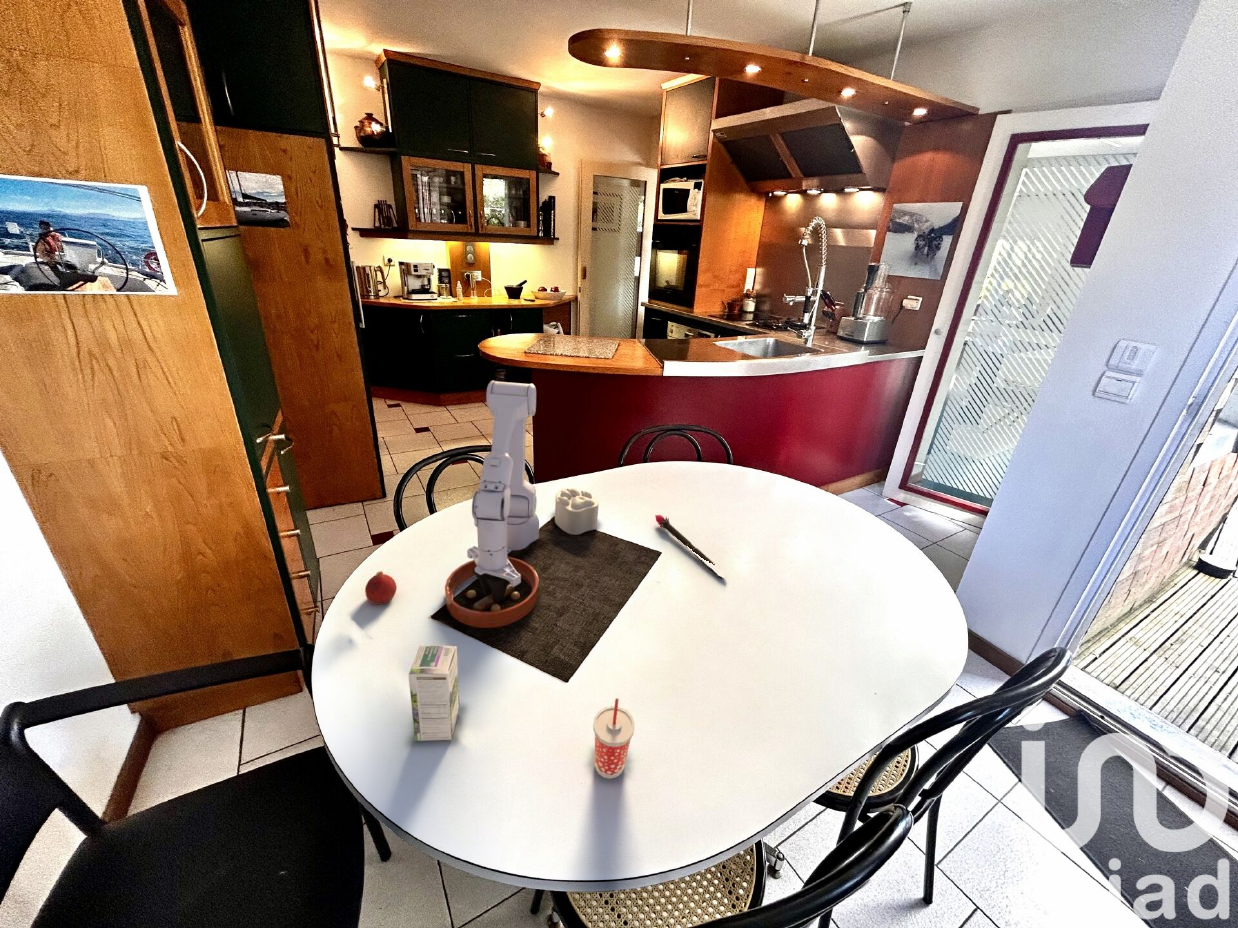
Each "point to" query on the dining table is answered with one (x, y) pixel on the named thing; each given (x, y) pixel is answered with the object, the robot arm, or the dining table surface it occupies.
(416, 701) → the syrup box
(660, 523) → the wand
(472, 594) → the bead
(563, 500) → the lumpy-topped squat cylinder
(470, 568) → the bowl
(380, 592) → the red round piece
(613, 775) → the beverage cup
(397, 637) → the dining table surface
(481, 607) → the stick
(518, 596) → the bead
